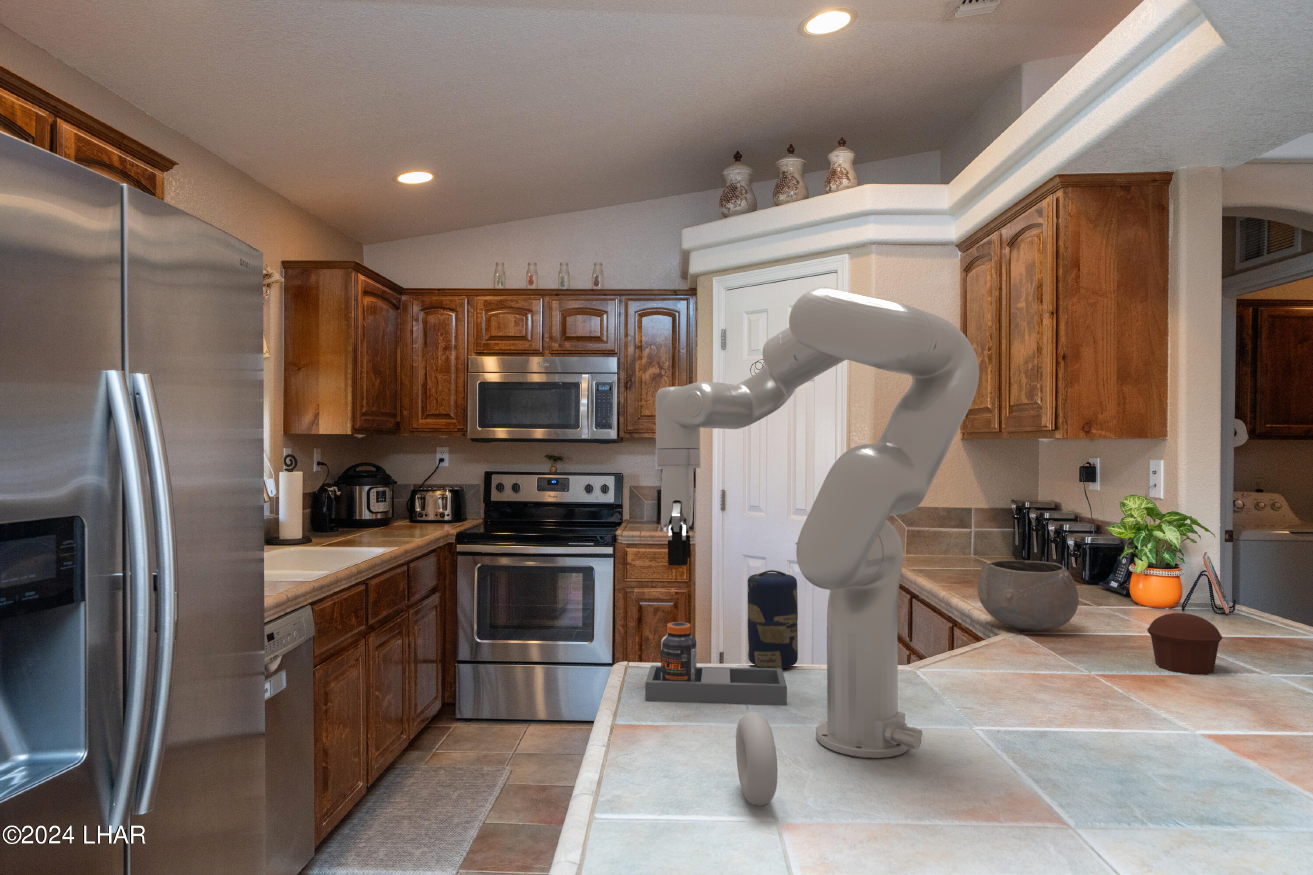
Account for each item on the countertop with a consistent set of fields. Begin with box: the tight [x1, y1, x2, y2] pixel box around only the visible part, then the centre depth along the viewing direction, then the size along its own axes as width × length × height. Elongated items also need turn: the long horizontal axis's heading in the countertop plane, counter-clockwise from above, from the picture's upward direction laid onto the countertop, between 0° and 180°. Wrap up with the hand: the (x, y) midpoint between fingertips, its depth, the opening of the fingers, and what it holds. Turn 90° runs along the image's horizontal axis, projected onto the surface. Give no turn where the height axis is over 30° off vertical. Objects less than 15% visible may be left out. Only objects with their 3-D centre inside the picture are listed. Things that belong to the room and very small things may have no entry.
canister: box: [747, 569, 799, 669], centre depth 144 cm, size 10×10×18 cm
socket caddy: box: [644, 664, 788, 706], centre depth 127 cm, size 23×10×3 cm, turn 85°
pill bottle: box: [660, 621, 697, 682], centre depth 127 cm, size 6×6×11 cm
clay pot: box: [976, 559, 1080, 632], centre depth 176 cm, size 21×21×15 cm
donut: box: [735, 711, 778, 807], centre depth 87 cm, size 10×4×10 cm, turn 5°
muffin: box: [1147, 612, 1223, 676], centre depth 143 cm, size 12×11×10 cm
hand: (679, 561), depth 128 cm, fingers open, 9 cm apart
